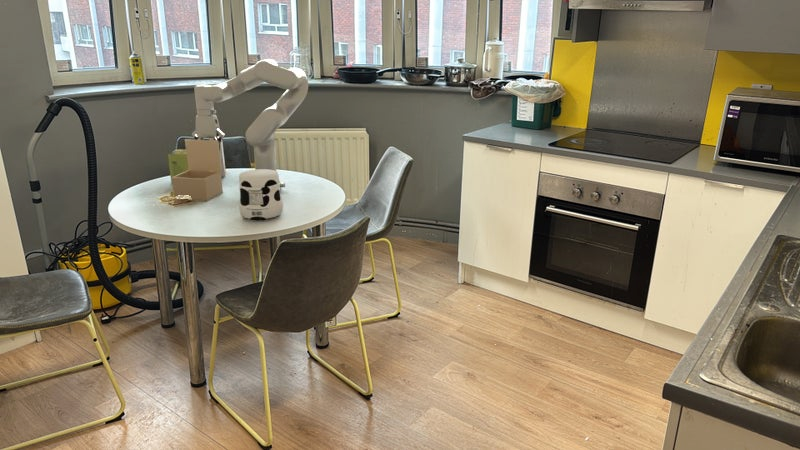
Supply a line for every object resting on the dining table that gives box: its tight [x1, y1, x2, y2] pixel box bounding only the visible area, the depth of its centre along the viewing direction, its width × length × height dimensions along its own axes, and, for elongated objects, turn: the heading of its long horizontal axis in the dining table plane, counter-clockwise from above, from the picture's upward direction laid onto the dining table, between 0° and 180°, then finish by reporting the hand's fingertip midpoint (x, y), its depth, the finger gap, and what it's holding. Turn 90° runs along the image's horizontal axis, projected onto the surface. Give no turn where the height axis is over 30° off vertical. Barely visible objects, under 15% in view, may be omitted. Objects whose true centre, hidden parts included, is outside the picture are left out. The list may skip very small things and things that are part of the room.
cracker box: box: [208, 136, 226, 178], centre depth 308 cm, size 14×6×21 cm, turn 14°
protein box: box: [167, 149, 202, 186], centre depth 294 cm, size 10×15×16 cm
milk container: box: [238, 169, 284, 222], centre depth 243 cm, size 17×17×18 cm
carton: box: [171, 170, 224, 202], centre depth 273 cm, size 16×14×10 cm
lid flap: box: [184, 138, 222, 171], centre depth 278 cm, size 16×14×6 cm
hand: (209, 150), depth 281 cm, fingers open, 7 cm apart
